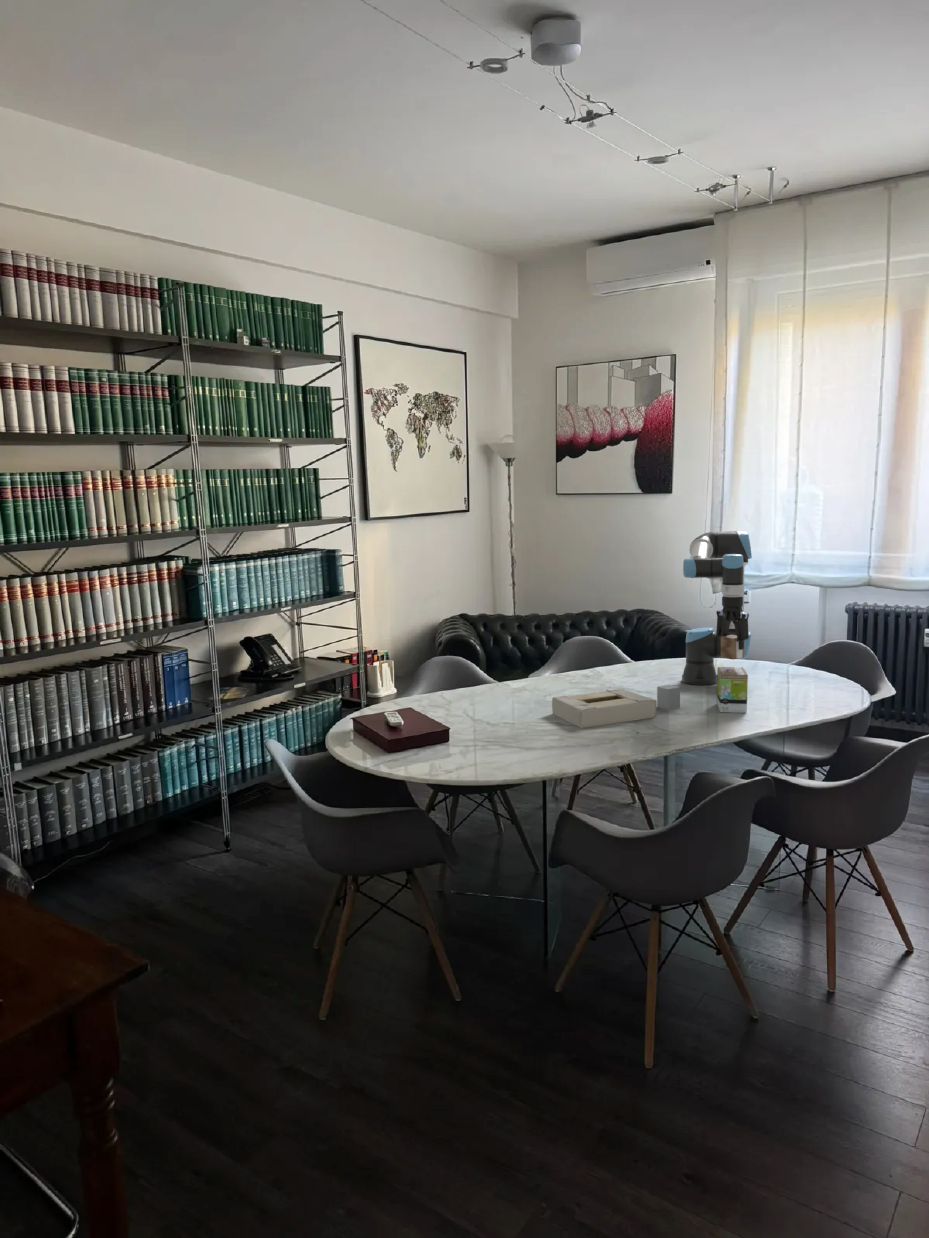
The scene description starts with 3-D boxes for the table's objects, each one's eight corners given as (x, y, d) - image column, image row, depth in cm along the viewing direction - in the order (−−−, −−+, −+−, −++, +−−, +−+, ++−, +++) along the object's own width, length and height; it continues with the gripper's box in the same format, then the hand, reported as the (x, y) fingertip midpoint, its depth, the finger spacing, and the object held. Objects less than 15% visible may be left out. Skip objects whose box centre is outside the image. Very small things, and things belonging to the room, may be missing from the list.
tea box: (747, 713, 317) (748, 674, 315) (719, 712, 319) (719, 673, 317) (743, 703, 332) (743, 666, 330) (716, 703, 334) (716, 665, 332)
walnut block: (720, 657, 324) (720, 636, 323) (731, 655, 327) (731, 634, 326) (733, 659, 319) (733, 638, 318) (744, 657, 322) (744, 636, 321)
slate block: (657, 706, 331) (657, 686, 330) (668, 704, 335) (668, 684, 333) (668, 709, 326) (668, 689, 325) (679, 707, 329) (679, 687, 328)
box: (581, 730, 305) (657, 717, 317) (580, 708, 304) (657, 697, 316) (551, 716, 326) (623, 705, 338) (550, 696, 325) (622, 686, 337)
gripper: (706, 594, 326) (705, 654, 329) (745, 598, 309) (745, 661, 313) (719, 593, 329) (719, 652, 333) (759, 596, 313) (759, 659, 316)
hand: (732, 656), depth 323 cm, fingers closed on walnut block, 6 cm apart
